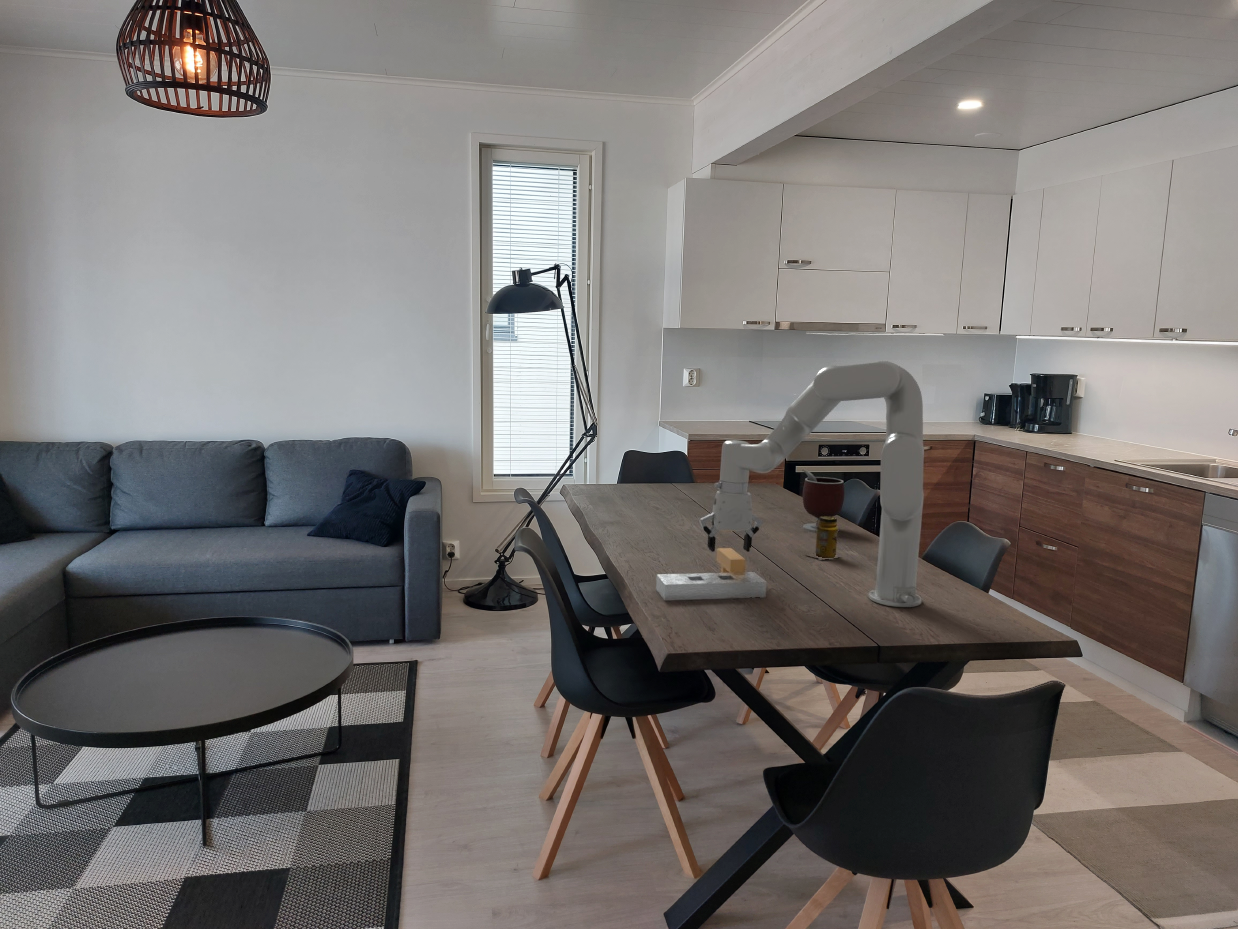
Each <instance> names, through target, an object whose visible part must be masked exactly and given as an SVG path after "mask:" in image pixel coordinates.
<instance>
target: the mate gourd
mask: <svg viewBox="0 0 1238 929" xmlns="http://www.w3.org/2000/svg"><path fill="white" fill-rule="evenodd" d="M801 470H802V472H804V473H805V474H806V475H807V477H806V478H805V479H804V484H803V489H802V503H803V507H804V510H805V511H806V512H807V514H808V515H810V516H812V517H814V518H816V519H817V521H816V522H815V523H814V522H813V523H806V524H803V526H802V528H805V529H806V530H805V529H804V530H805V531H808V530H810V531H809V532H812V531H816V532H815V533H817V526H818V524H819V517H821V516H831V517H835V516H837V515H838V514H839V513H840V512H841V511H842V509H843V505H844V501H845V485H844V480H842V479H839V478H835V477H824V476H823V477H822V476H815V475H814V474H813V473H812V472H810V471H809V470H807V469H805V468H802V469H801ZM837 528H838V531H839V532H840V527H839V526H837Z"/></svg>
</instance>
